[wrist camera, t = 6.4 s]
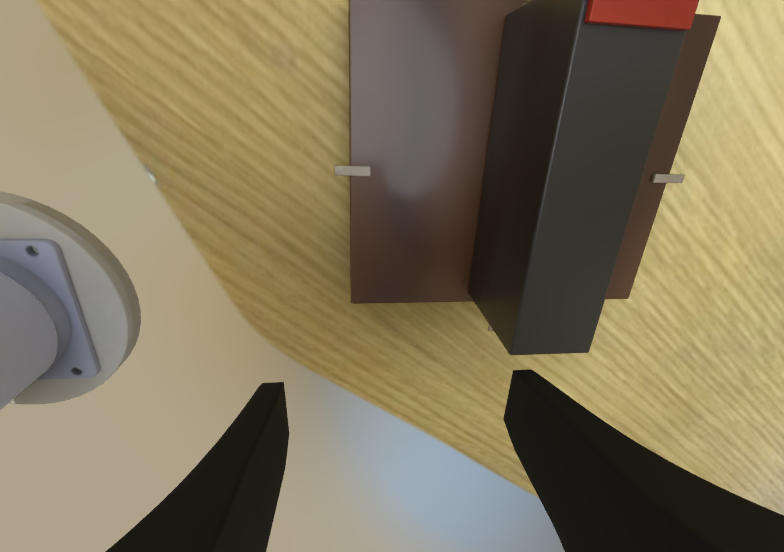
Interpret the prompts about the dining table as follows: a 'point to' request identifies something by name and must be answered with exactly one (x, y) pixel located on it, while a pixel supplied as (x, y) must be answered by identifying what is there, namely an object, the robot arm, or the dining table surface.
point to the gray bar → (568, 161)
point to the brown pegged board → (456, 144)
